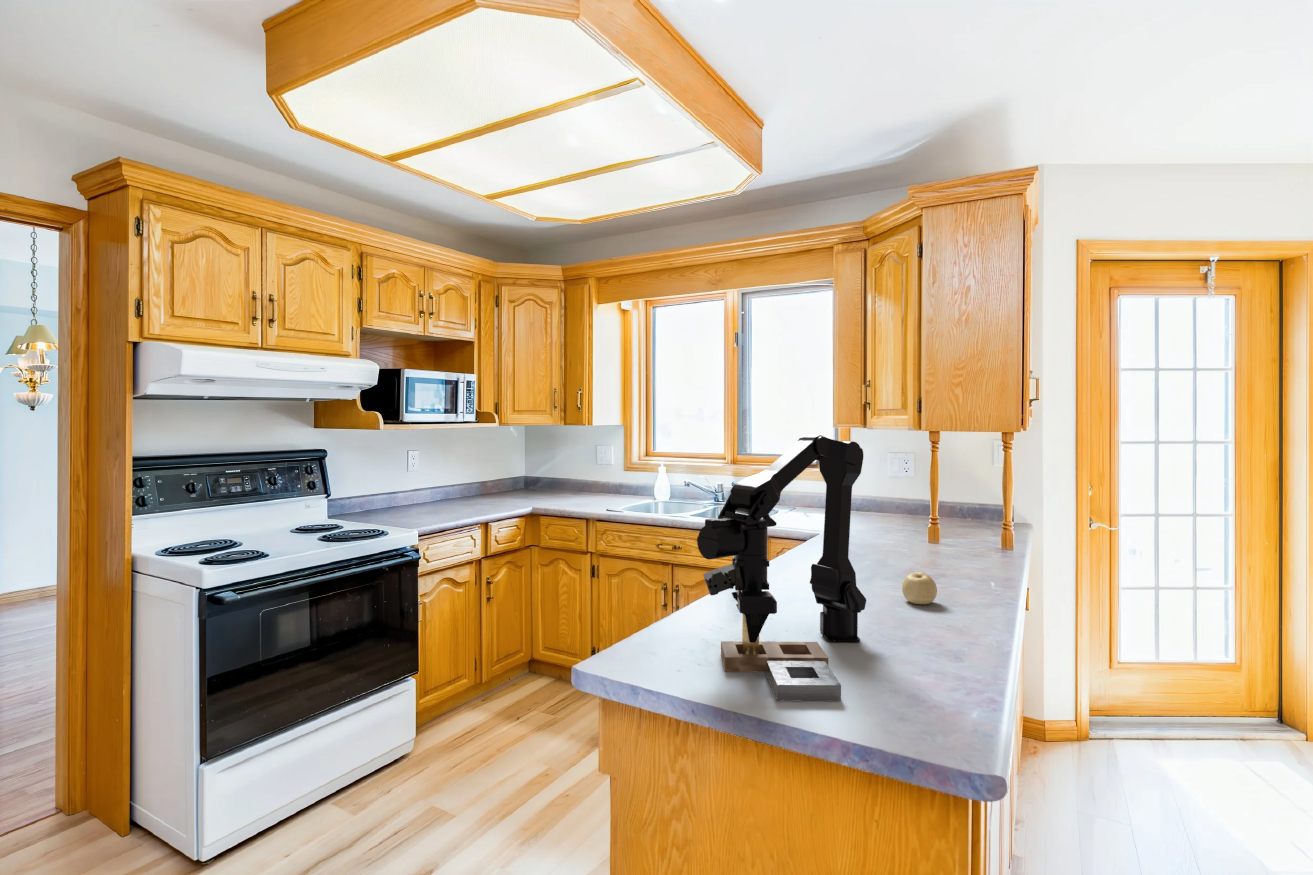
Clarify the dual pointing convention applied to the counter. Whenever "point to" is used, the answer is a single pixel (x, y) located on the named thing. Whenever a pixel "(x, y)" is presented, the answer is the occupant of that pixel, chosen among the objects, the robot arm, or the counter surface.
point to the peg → (746, 645)
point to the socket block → (803, 681)
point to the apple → (919, 588)
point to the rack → (768, 655)
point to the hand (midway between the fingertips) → (750, 638)
